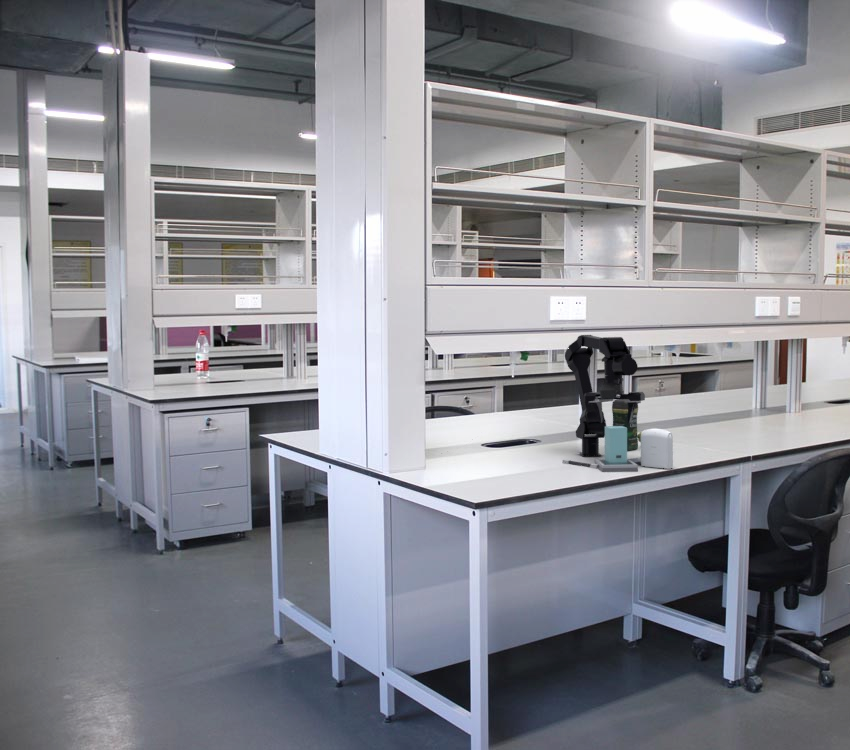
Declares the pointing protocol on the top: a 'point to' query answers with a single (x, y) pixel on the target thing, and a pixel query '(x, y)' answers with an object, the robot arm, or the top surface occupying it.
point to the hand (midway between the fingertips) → (614, 423)
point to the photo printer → (657, 448)
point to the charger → (615, 445)
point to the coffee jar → (626, 421)
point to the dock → (616, 466)
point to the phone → (636, 461)
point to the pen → (580, 463)
